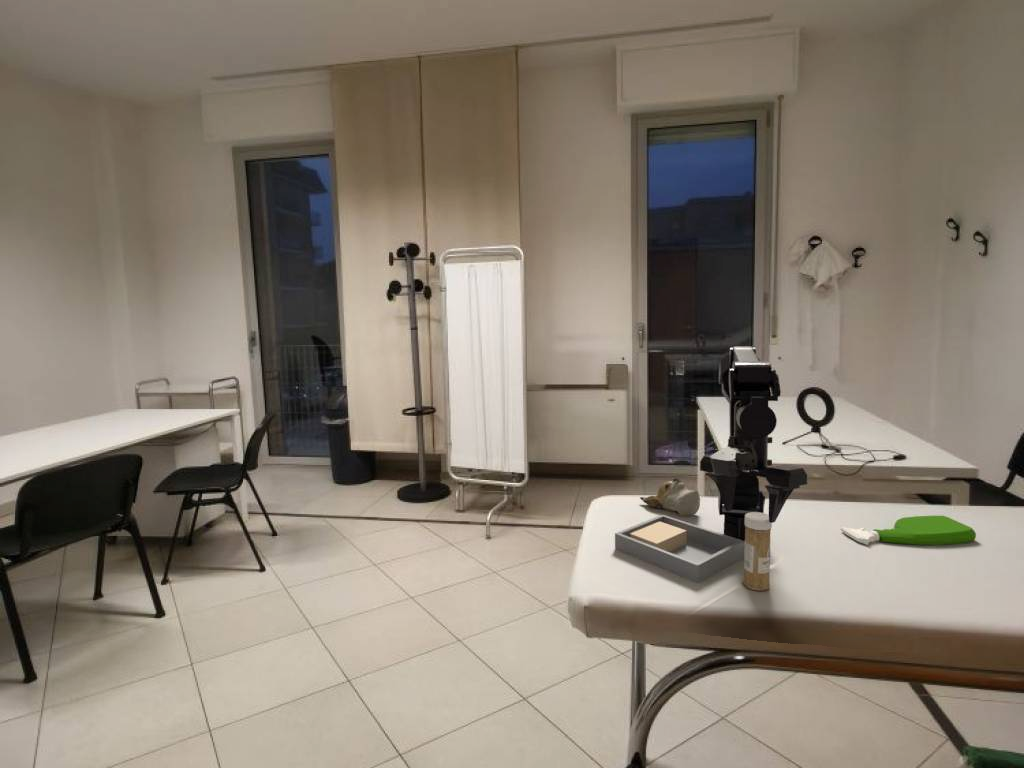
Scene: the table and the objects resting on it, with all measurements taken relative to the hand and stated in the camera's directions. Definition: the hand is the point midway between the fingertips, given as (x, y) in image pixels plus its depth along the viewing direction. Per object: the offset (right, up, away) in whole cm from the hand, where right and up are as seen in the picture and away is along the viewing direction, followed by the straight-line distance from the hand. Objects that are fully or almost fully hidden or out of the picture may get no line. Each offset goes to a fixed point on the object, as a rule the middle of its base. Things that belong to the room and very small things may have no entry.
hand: (749, 516), depth 106 cm
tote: (-9, -11, +14) cm, 20 cm away
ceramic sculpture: (-3, -8, +39) cm, 40 cm away
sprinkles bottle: (+1, -13, 0) cm, 13 cm away
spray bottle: (+42, -9, +20) cm, 47 cm away
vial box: (-12, -10, +17) cm, 24 cm away
